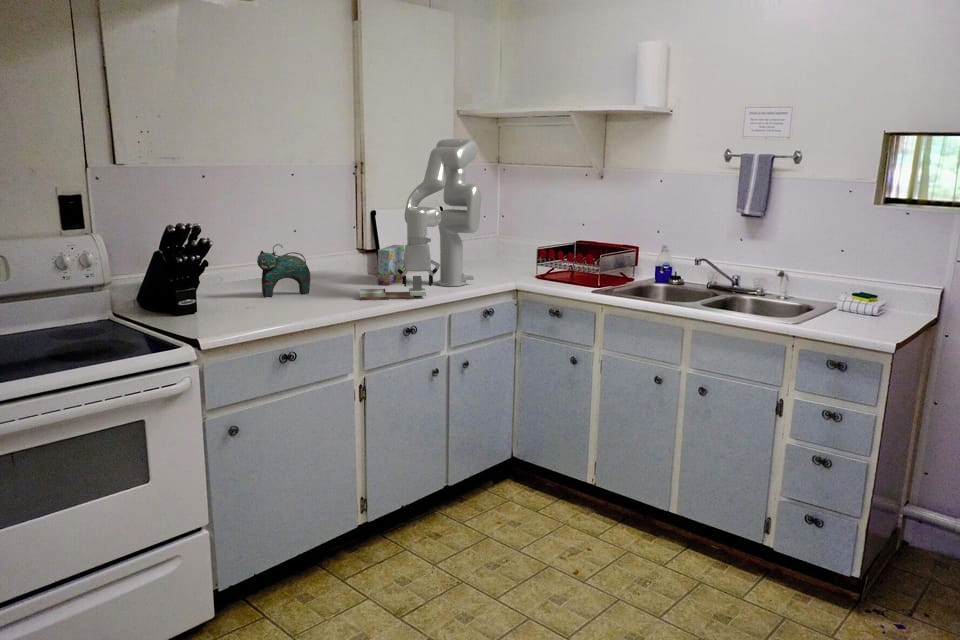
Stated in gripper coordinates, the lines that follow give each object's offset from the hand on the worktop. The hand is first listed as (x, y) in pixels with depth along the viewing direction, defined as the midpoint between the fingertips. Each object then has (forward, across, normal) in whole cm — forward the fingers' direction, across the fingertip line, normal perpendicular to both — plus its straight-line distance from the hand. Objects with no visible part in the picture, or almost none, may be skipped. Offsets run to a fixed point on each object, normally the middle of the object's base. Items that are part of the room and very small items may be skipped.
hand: (417, 285), depth 281 cm
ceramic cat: (+4, +51, -8) cm, 52 cm away
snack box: (+5, +9, -37) cm, 38 cm away
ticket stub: (+3, 0, 0) cm, 3 cm away
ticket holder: (+4, +12, 0) cm, 13 cm away
